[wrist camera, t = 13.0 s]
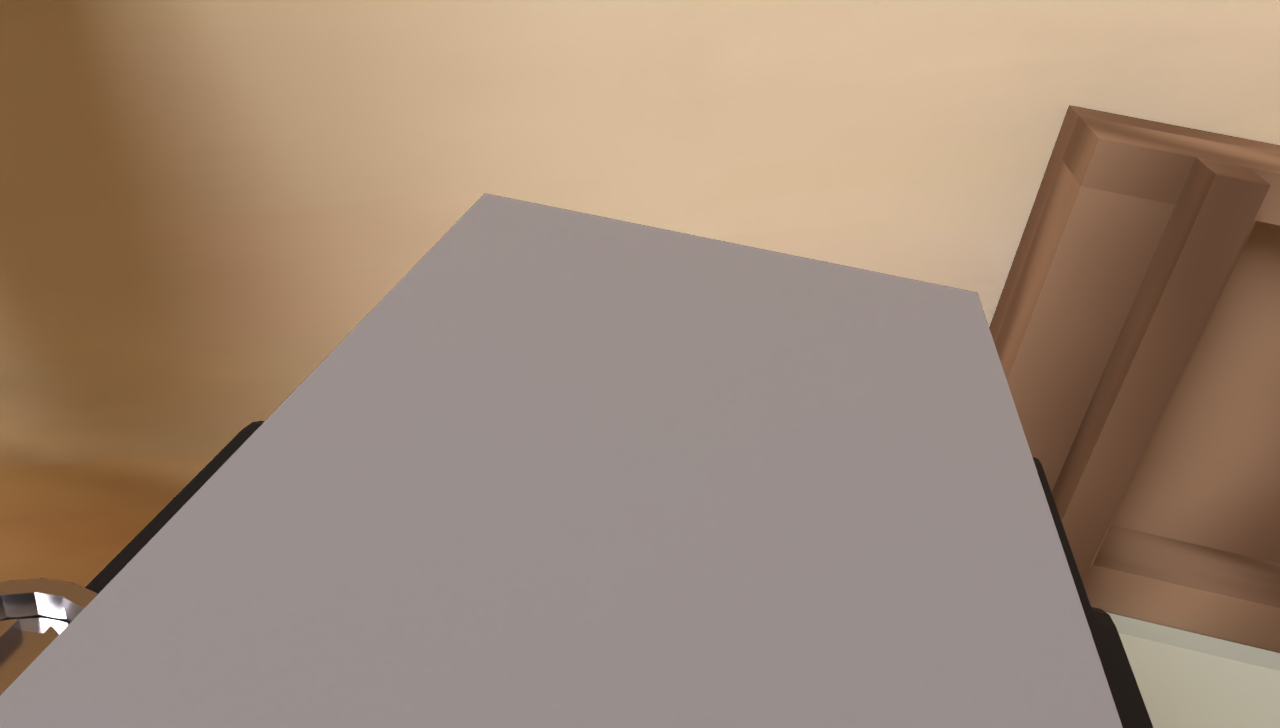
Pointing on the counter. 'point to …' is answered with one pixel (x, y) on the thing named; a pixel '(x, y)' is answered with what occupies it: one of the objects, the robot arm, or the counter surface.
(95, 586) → the robot arm
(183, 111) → the counter surface
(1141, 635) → the lid
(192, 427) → the counter surface
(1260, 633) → the brown box
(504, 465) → the block
